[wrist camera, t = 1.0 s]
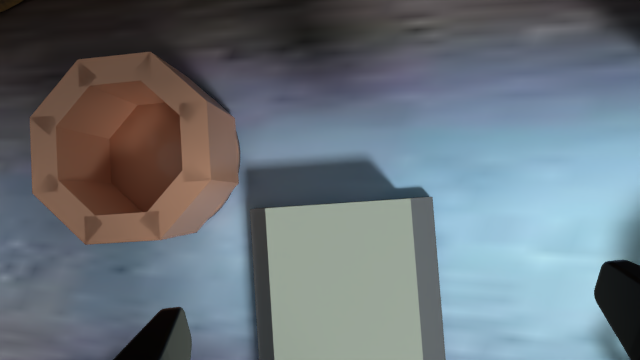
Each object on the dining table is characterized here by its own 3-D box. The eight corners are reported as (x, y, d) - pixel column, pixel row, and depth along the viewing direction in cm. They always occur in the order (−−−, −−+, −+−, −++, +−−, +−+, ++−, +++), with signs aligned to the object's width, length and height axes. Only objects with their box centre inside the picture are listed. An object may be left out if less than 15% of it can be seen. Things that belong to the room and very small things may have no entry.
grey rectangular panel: (450, 445, 20) (453, 453, 20) (267, 447, 21) (264, 454, 21) (430, 196, 21) (432, 196, 20) (253, 208, 22) (249, 209, 21)
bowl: (244, 228, 22) (214, 236, 17) (99, 237, 23) (34, 247, 18) (235, 76, 22) (203, 45, 18) (92, 90, 23) (27, 64, 19)
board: (425, 453, 20) (432, 481, 18) (289, 454, 21) (281, 481, 19) (406, 198, 21) (410, 198, 19) (274, 207, 21) (265, 208, 19)
